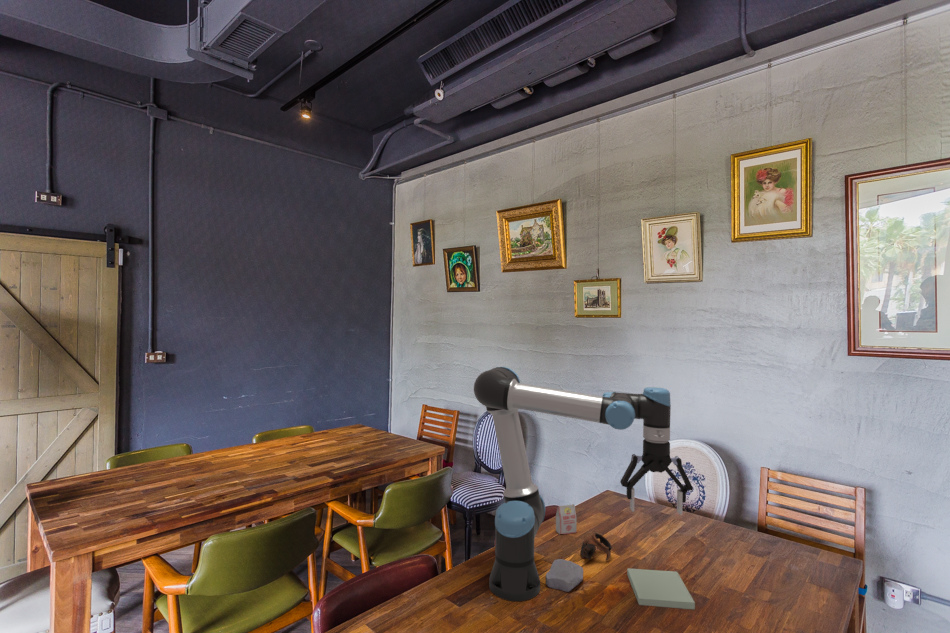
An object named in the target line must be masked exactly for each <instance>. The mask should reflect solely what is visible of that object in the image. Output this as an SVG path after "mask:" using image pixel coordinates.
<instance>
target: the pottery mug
mask: <svg viewBox="0 0 950 633" xmlns="http://www.w3.org/2000/svg"><path fill="white" fill-rule="evenodd" d="M612 549H613V546H612V544H611V542H610V541H609V540H608V539H607V538H606V537H605V536H603V534H602V535H601V534H600V533H598V532H594V533H592V535H589V536H586V538H584V539H583V542H582V545H581V548H580V552H579V553H580V557H581V558H582V559H587V560H592V558H593V556H594V555H595V553H596V552H597V551H596V550H599V551H601V552H603V553H605V554H606V557H605V560H606V562H608V561H609V559H610V558H611V556H612V552H611V551H612Z"/></svg>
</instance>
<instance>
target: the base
mask: <svg viewBox="0 0 950 633" xmlns="http://www.w3.org/2000/svg"><path fill="white" fill-rule="evenodd" d="M626 573H627V574H626V576H627V577H628V580H629V582H630V585H631V589H632V591H633V593H634V595H635V598H636V601H637V604H638V606H647V607H648V606H651V607H661V608H671V609H672V608H673V609H683V610H695V609H696V602H695V601H694V598H693V596H692V595H691V594H690V591H689V590H688V588H687V586H686V585H685V583H684V581H683V579H682V578H681V576H680V574H679V573H678V571H674V570H673V571H672V570H656V569H641V568H629V567H628V568H627V570H626Z"/></svg>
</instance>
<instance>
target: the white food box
mask: <svg viewBox="0 0 950 633" xmlns="http://www.w3.org/2000/svg"><path fill="white" fill-rule="evenodd" d="M555 513H556V514H555V532H557V533H558V534H559V535H560V534H564V535H569V534H577V514H576V513H577V512H576V507H575V504H574V503H573V504H565V505H558V506H557V509H556V512H555Z"/></svg>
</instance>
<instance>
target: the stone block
mask: <svg viewBox="0 0 950 633" xmlns="http://www.w3.org/2000/svg"><path fill="white" fill-rule="evenodd" d="M583 579H584V568H583V567H582V566H581V565H580V564H578V563H576V562H573V561H571V560H566V559H561V558H559V559H554V560H553V562H552V564H551V566H550V569H549V570H548V571H547V572H546V574H545V585H546V587H547V588H551V589H553V590H554V589H555V590H560V591H562V592H567V593H568V592H571V591H572V590H574V588H576V587H577V586H579V584H580V583H581V582H583V581H584V580H583Z"/></svg>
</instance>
